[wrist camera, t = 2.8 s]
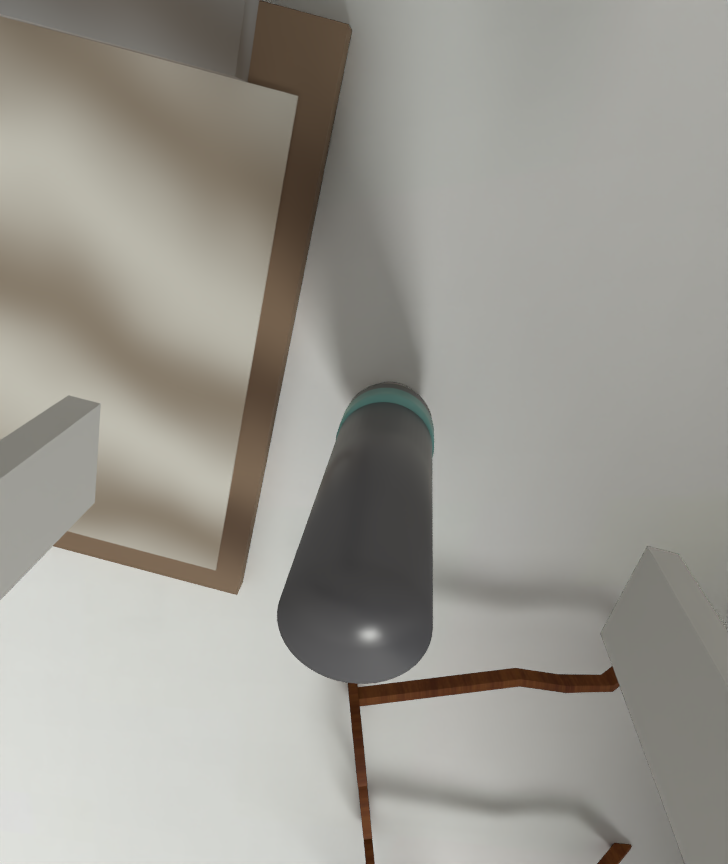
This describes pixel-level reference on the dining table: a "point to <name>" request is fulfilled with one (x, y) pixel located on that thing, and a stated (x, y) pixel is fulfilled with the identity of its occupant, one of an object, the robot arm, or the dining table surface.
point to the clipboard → (161, 251)
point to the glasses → (459, 686)
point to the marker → (367, 546)
